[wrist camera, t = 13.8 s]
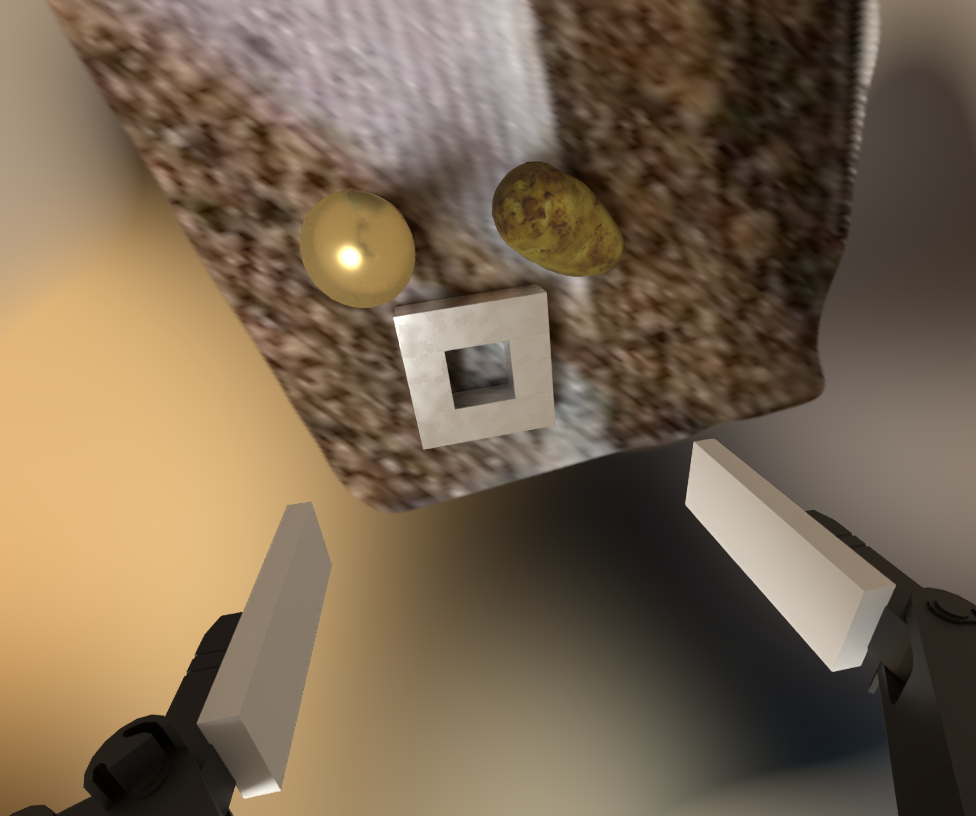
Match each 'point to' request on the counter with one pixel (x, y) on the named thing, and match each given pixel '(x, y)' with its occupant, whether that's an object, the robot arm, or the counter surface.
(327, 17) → the counter surface
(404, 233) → the gold tall flared cylinder
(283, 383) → the counter surface
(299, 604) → the robot arm
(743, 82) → the counter surface
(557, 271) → the potato
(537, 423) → the housing
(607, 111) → the counter surface
